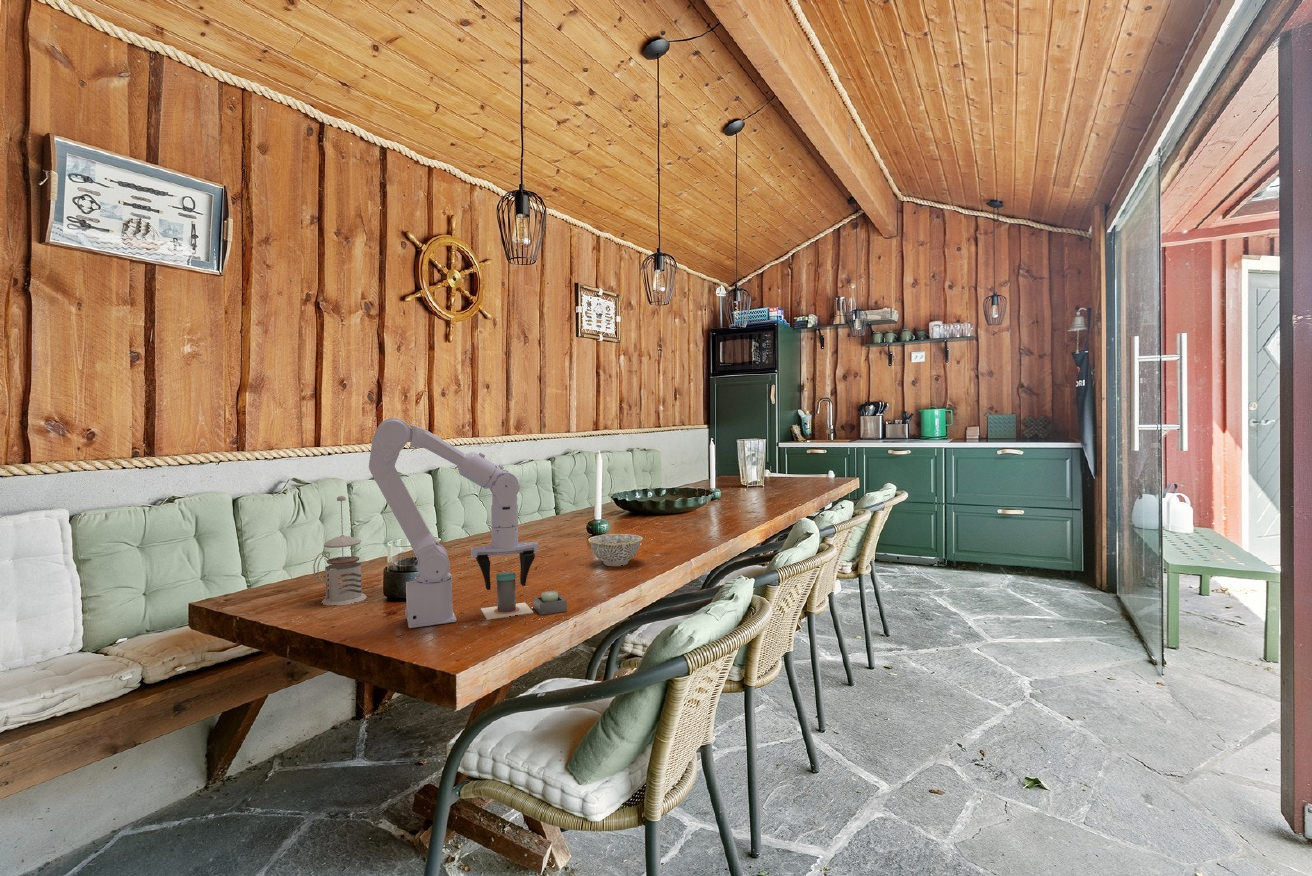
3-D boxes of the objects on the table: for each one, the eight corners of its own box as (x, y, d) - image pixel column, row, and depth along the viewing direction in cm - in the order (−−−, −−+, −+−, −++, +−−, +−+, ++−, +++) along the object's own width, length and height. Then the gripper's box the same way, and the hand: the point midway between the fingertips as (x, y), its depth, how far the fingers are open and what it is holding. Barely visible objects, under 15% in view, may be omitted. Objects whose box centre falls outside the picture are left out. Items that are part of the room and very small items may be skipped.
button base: (540, 615, 139) (539, 604, 139) (533, 607, 144) (533, 597, 144) (566, 611, 141) (566, 600, 141) (559, 604, 147) (559, 593, 147)
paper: (486, 619, 136) (486, 618, 136) (480, 609, 143) (480, 608, 143) (533, 613, 140) (533, 611, 140) (525, 603, 148) (525, 602, 148)
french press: (375, 597, 155) (372, 494, 154) (328, 610, 145) (324, 500, 144) (352, 591, 160) (349, 492, 159) (305, 603, 150) (301, 497, 150)
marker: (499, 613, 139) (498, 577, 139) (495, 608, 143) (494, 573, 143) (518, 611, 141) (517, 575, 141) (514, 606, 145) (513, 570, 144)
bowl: (586, 559, 193) (586, 534, 193) (638, 556, 196) (638, 532, 196) (590, 571, 177) (590, 544, 177) (647, 568, 180) (647, 542, 180)
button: (543, 605, 140) (543, 596, 140) (539, 601, 144) (539, 592, 144) (559, 603, 142) (559, 594, 142) (555, 599, 145) (555, 590, 145)
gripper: (533, 520, 148) (533, 579, 148) (468, 525, 142) (469, 586, 142) (540, 525, 141) (541, 586, 142) (473, 530, 135) (474, 594, 136)
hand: (505, 586), depth 142 cm, fingers open, 7 cm apart
